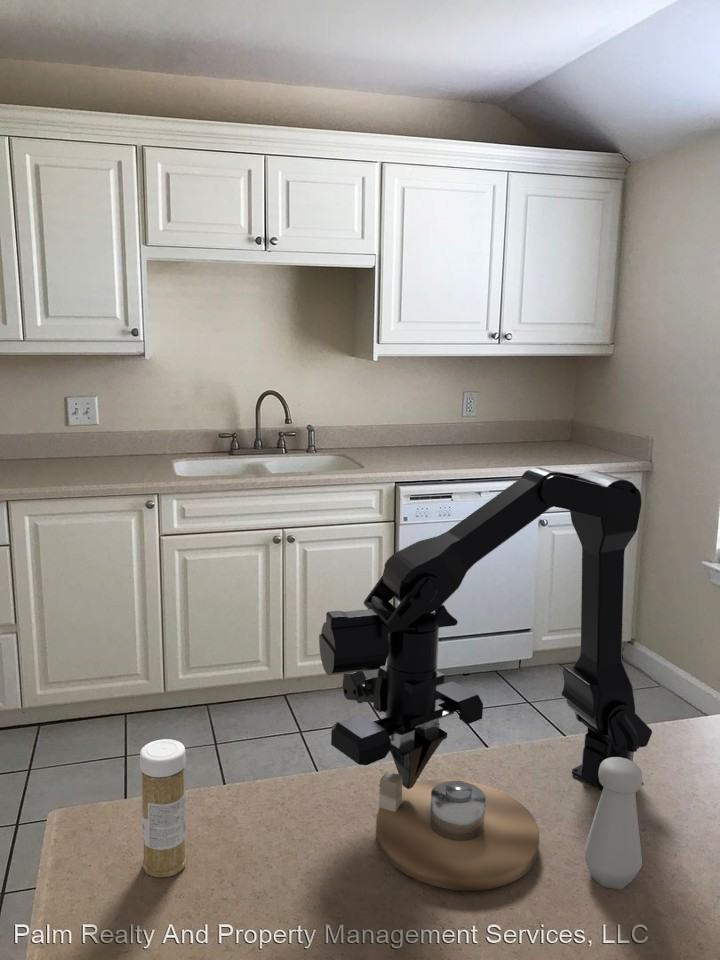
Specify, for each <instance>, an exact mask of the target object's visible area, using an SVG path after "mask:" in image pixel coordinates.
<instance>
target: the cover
mask: <svg viewBox="0 0 720 960" xmlns="http://www.w3.org/2000/svg"><path fill="white" fill-rule="evenodd" d="M463 781H464V780H462V781H447V782H443V783H440V784H438V785H436V786H435V787H434V788H433V789H432V792H431V808H430V826H431V828H432V830H433V831H434V832H435V833H437V834H438V835H440V836H441V837H444V838H446V839H449V840H454V841H468V840H472V839H475V838H477V837H479V836H480V835H481V834H482V832H483V830H484V821H485V805H486V796H485V794H484V792H483V791H482V790H481V789H479V788H478V787H476V786H475V785H472V784H470V783H467V782H463Z"/></svg>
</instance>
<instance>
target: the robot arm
mask: <svg viewBox="0 0 720 960" xmlns="http://www.w3.org/2000/svg"><path fill="white" fill-rule="evenodd" d="M642 503H643V501H642V494H641V490H640V489H638V488H637V486H636V485H635V484H634V483H632V482H631V481H629V480H627V479H624V478H621V477H617V476H613V475H611V474H608V473H604V472H601V471H598V470H587V471H585V472H582V473H581V474H580V475H576V474H571V473H567V472H561V471H553V470H549V469H546V468H543V467H539V466H536V467H532V468H529V469H527V470H526V471H525V472H524V473H523V474H522V475H521V477H520V478H519V479H517V480H516V481H515V482H513V483H512V484H511V485H509V486H508V487H506V488H505V489H504V490H502V491H501V492H499V493H498V494H497V495H496V496H494V497H493V498H492V499H490V500H489V501H487V502H486V503H484V504H483V505H482V506H481V507H479V508H478V509H476V510H475V511H473V512H472V513H471V514H469V515H467V516H466V517H465V518H464V519H462V520H461V521H460V522H458V523H457V524H455V525H454V526H453V527H452V528H450V529H449V530H447V531H446V532H443V533H441V534H439V535H436V536H434V537H429V538H425V539H422V540H418V541H415V542H414V543H412V544H410V545H408V546H406V547H404V548H403V549H400V550H399V551H396V552H394V553H393V554H392V555H391V556H390V557H389V558H388V559H387V560H386V561H385V563H384V568H383V573H382V576H381V577H380V579H378V581H377V583H376V584H375V585H374V587H373V588H372V589H371V591H370V593H369V594H368V595H367V596H366V598H365V599H364V601H363V605H364V606H365V608H366V609H357V610H348V611H342V610H332V611H331V610H329V611H327V612H326V613H325V617H326V618H325V622H324V623H323V624H322V627H321V632H320V633H319V637H318V638H319V639H318V642H319V654H320V660H321V663H322V664H321V665H322V667H323V670H324V672H325V674H326V675H327V676H334V675H342V674H343V678H342V691H343V695H344V698H345V699H346V700H347V701H356V703H357V704H362V703H373V710H375V711H376V712H378V713H382V712H383V713H385V717H383V718H380V719H378V720H375V721H373V720H372V719H370V718H369V717H367V716H366V715H364V713H359V714H356V715H353V716H351V717H347V718H345V719H343V720H338V721H337V722H336V723H334V725H332V727H331V733H330V735H331V737H330V739H331V740H330V742H331V743H330V744H331V746H332V747H334V748H335V749H336V750H338V751H339V752H341V753H342V754H343V755H345V756H346V757H347V758H349V759H350V760H352V761H353V762H354V763H355V764H358V765H359V766H368V765H371V764H373V763H376V762H378V761H380V760H383V759H385V758H386V757H387V756H388V754H389V753H390V754H391V756H392V759H393V761H394V764H395V767H396V770H397V772H398V773H397V774H399V775H403V780H402V787H405V788H407V789H410V788H412V787H413V786H414V784H415V783H417V781H418V780H419V778H420V776H421V774H422V772H423V770H424V769H425V767H426V766H427V764H428V763H429V760H430V759H431V758H432V756H433V755H434V754H435V752H436V750H437V749H438V747H440V745H441V743H442V742H443V741H444V740H446V739H447V738H448V733H447V732H446V731H445V730H443V729H442V728H440V726H441V725H440V723H439V721H440V719H443V718H446V717H448V716H451V715H454V714H455V712H456V711H458V712H459V715H458V719H459V720H460V722H462V723H463V724H465V725H470V724H472V723H475V722H477V721H480V720H482V719H483V712H484V703H483V701H482V699H481V697H480V695H479V694H478V693H476V692H474V691H472V690H470V689H468V688H466V687H465V686H462V685H460V684H459V683H457V682H455V681H449V682H447V683H445V674H444V673H442V672H440V671H438V656H439V655H438V654H439V634H440V633H439V632H440V628H448V627H454V626H457V625H458V619H456V617H454V616H453V615H451V613H450V612H449V611H448V610H447V607H446V606H445V605H444V604H445V602H447V600H449V598H450V597H451V596H452V595H453V594H454V593H455V592H457V590H458V589H460V586H461V584H462V582H463V581H464V579H465V577H466V575H467V573H468V572H469V570H471V569H472V567H474V566H475V564H477V563H478V562H480V561H481V560H483V558H485V557H486V556H488V555H489V554H491V553H492V552H493V551H495V550H496V549H497V548H498V547H500V546H501V545H502V544H504V543H506V542H507V541H508V540H509V539H511V538H512V537H513V536H515V535H516V534H518V533H519V532H520V531H521V530H523V529H524V528H526V527H527V526H528V525H529V524H531V523H532V522H533V521H534V520H536V519H538V518H539V517H540V516H542V515H543V514H544V513H546V512H548V510H550V509H551V508H558V509H564V510H569V513H570V514H569V515H570V519H571V523H572V525H573V528H574V531H575V532H576V535H577V538H578V539H579V541H580V544H581V551H582V552H581V601H580V602H581V606H580V607H581V610H580V615H581V616H580V617H581V618H580V621H581V622H580V654H579V657H578V659H577V660H576V662H575V663H574V664H573V666H565V667H564V668H563V669H562V676H563V690H562V692H561V696H562V697H563V698H565V699H566V703H567V706H568V707H569V709H571V710H572V711H573V712H574V715H575V718H576V720H577V721H578V722H579V723H581V724H583V725H584V726H585V727H586V728H587V731H586V732H587V733H585V735H584V746H583V749H582V758H581V759H582V760H581V764H580V765H578V766H575V767H574V768H572V769H571V774H572V775H573V776H575V777H577V778H578V779H580V780H582V781H584V782H586V783H588V784H590V785H592V786H594V787H595V788H597V789H599V790H600V791H603V788H604V787H603V786H602V785H601V784H600V782H599V767H600V764H601V763H602V762H603V760H605V759H607V758H611V757H621V758H625V759H628V760H630V761H633V762H634V752H635V753H636V752H637V751H638V750H639V748H645V747H647V745H648V743H649V741H650V739H651V736H652V734H653V730H652V729H651V728H650V726H648V725H647V724H646V723H645V721H644V720H643V719H642V718H641V717H640V716H639V715H638V714H637V713H636V709H637V708H636V702H635V695H634V687H633V684H632V682H631V680H630V677H629V675H628V672H627V670H626V667H625V665H624V663H623V623H624V622H623V617H624V587H625V586H624V584H625V583H624V581H625V579H624V578H625V552H626V549H627V546H628V545H629V544H630V542H631V541H632V539H633V537H634V536H635V534H636V532H637V530H638V527H639V522H640V516H641V510H642ZM394 598H395V599H396V600H397V602H399V603H398V605H397V607H395V606H394V605H393V604H392V603H391V602H390V601H391V600H393V599H394Z"/></svg>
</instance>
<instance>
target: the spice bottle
mask: <svg viewBox="0 0 720 960" xmlns="http://www.w3.org/2000/svg"><path fill="white" fill-rule="evenodd" d="M140 749H141V750H140V752H139V768H140V771H141V781H142V783H141V786H142V787H141V791H142V792H141V796H142V797H141V798H142V801H141V802H142V803H141V804H142V805H141V811H142V812H141V813H142V814H141V818H142V820H141V821H142V824H141V825H142V842H143V861H142V866H143V867H142V868H143V870H144V872H145V873H146V874H147V875H149V876H152V877H154V878H155V877H156V878H168V877H169V878H170V877H172V876H174V875H176V874H178V873H180V872H181V871H182V870H183V869H184V868H185V866H186V864H187V856H186V826H187V825H186V789H185V767H186V762H187V761H186V759H187V758H186V747H185V745H184V744H183V743H182V742H180V741H179V740H175V739H171V738H169V739H168V738H166V739H165V738H164V739H158V740H154V741H153V740H152V741H151V742H148V743H147V744H145V745H144V746H142V748H140Z"/></svg>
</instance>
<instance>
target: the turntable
mask: <svg viewBox="0 0 720 960" xmlns="http://www.w3.org/2000/svg"><path fill="white" fill-rule="evenodd" d="M402 780H403V775H399V773H395V772H390V771H386V772H385V773H384V774H383V775H382V776H381V778H380V779H379V797H378V798H379V799H378V801H379V803H378V811H377V814H376V821H375V823H376V824H375V825H376V826H375V833H376V834H375V837H376V841H377V845H378V847H379V849H380V851H381V853H382V854H383V855H384V857H385V858H386V859H387V860H388V861H389V862H390V864H392V865H393V866H394V867H395V868H397V869H398V870H399V871H401V872H402V873H403V874H405V875H407V876H409V877H411V878H413V879H415V880H417V881H419V882H421V883H425V884H428V885H430V886H434V887H439V888H442V889H448V890H454V891H483V890H490V889H495V888H496V889H497V888H500V887H503V886H506V885H509V884H511V883H513V882H515V881H518V880H519V879H521V878H522V877H524V876H525V874H527V873H528V872H529V871H530V870H531V869H532V867H533V866H534V865H535V863H536V861H537V859H538V855H539V850H540V849H539V848H540V829H539V826H538V823H537V820H535V819H536V818H534V816H533V814H532V812H530V810H528V808H527V807H525V806H524V805H523V804H522V803H521V802H519V801H518V800H517V799H516V798H514V797H513V796H511V795H509V794H507V793H505V792H503V791H501V790H500V789H496V788H494V787H491V786H488V785H485V784H482V783H479V782H474V781H469V780H468V781H467V780H461V779H450V778H449V779H448V778H447V779H446V778H445V779H430V780H423V781H420V782H419V781H418V782H415V784H414V786H413V787H412V788H410V789H407V788H405V787H404V786H403V785H402ZM447 781H463V782H467V783H470V784H472V785H475V786H476V787H478V788H479V789H481V790H482V791H483V792H484V794H485V796H486V805H485V821H484V830H483V832H482V834H481V835H480V836H479V837H477V838H475V839H472V840H468V841H454V840H449V839H446V838H444V837H441V836H440V835H438V834H437V833H435V832H434V831H433V830H432V828H431V826H430V808H431V792H432V789H433V788H434V787H435V786H436V785H438V784H440V783H443V782H447Z"/></svg>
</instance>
